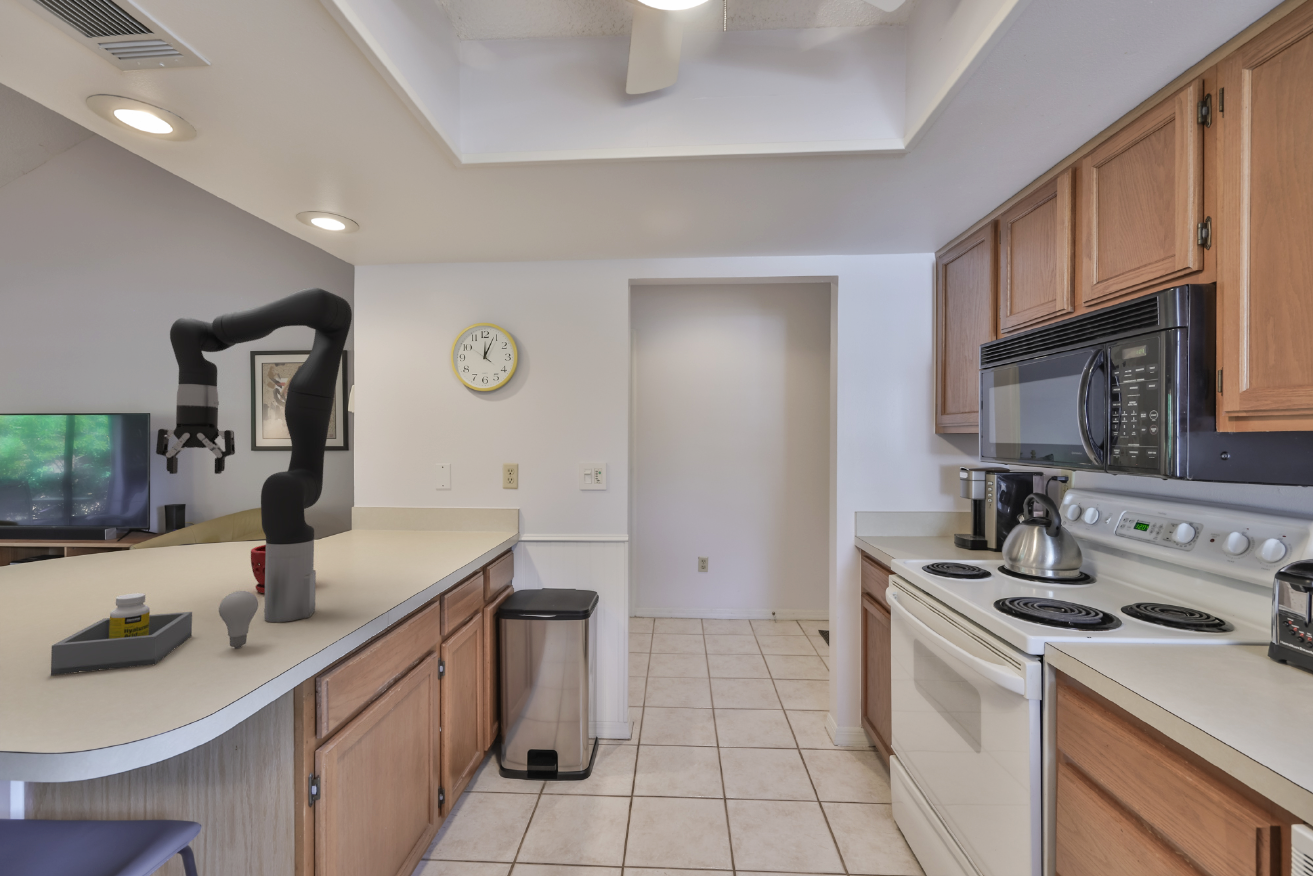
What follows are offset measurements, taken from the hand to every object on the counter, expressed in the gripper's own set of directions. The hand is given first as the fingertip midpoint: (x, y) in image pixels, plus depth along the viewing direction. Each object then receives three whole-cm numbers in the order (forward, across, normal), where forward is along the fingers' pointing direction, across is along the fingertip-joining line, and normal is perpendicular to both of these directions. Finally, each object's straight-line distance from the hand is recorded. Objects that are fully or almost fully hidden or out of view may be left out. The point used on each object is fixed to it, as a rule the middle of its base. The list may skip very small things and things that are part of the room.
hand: (196, 473), depth 129 cm
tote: (+32, 0, -28) cm, 43 cm away
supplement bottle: (+31, 0, -28) cm, 42 cm away
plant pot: (+32, +14, +14) cm, 38 cm away
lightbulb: (+32, +18, -31) cm, 48 cm away
